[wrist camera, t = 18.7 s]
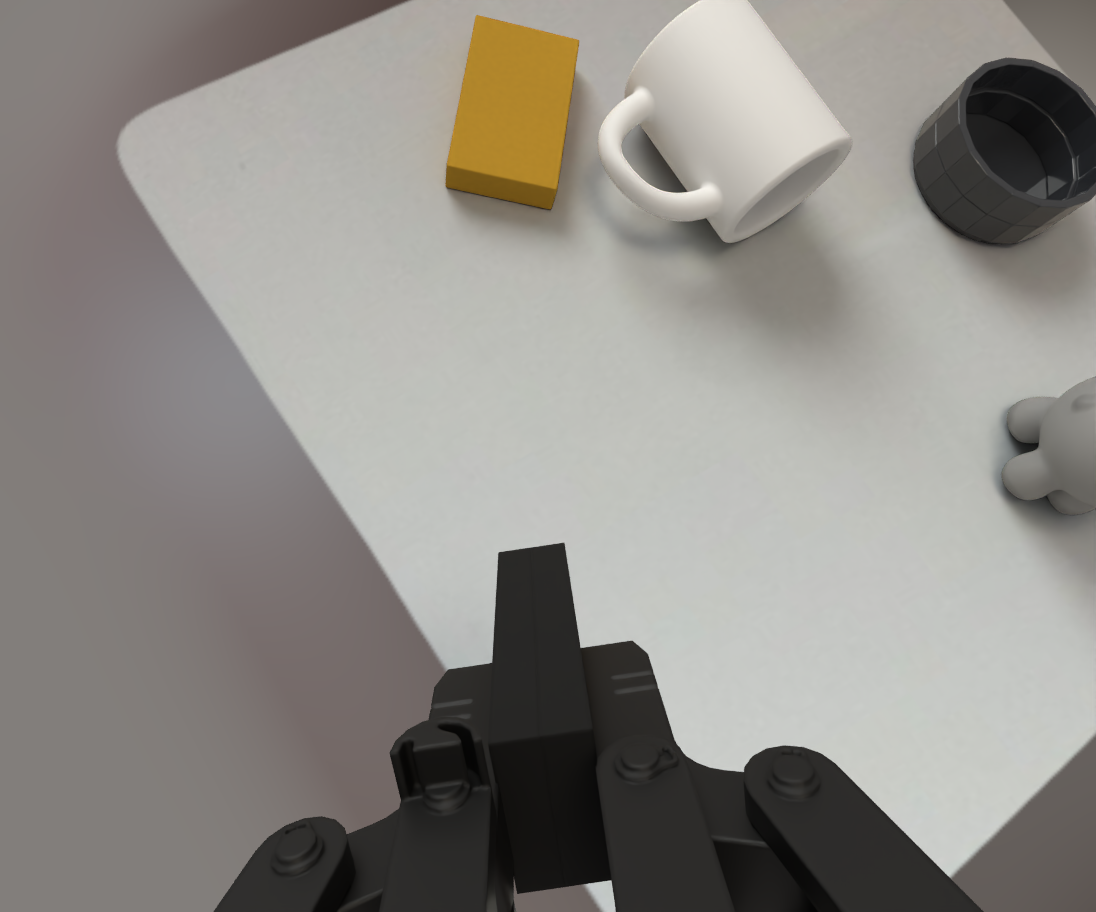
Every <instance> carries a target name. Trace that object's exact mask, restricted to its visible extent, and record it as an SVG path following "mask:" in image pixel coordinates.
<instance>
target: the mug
mask: <svg viewBox="0 0 1096 912" xmlns="http://www.w3.org/2000/svg"><path fill="white" fill-rule="evenodd" d="M639 124H640V125H641V127H642V128H643V130H644V131H645V133H646V134H647V135H648V137H649V138H650V140H651V141H652V142H653V144H654V145H655V147H656V148H657V149H658V151H659V152H660V154H661V155H662V156H663V158H664V159H665V161H666V162H667V163H668V165H669V166H670V168H671V169H672V171H673V172H674V173H675V175H676V176H677V178H678V179H679V180H680V182H681V183H682V185H683V186H684V187H685V189H686V190H687V192H684V193H672V192H666V191H662V190H659V189H657V188H655V187H653V186H651V185H649V184H648V183H647V182H645V181H644V180H643V179H642V178H641V177H640V176H639V175H638V174H637V173H636V172H635V171H634V170H633V169H632V167H631V166H630V165H629V164H628V162H627V161H626V159H625V157H624V156H623V153H622V148H621V146H622V141H623V139H624V137H625V136H626V135H627V134H628V132H630V131H631V130H632V129H633V128H634V127H636V126H637V125H639ZM851 147H852V139H851V137H850V136H849V135H848V133H847V132H846V131H845V129H844V128H843V127H842V125H841V124H840V123H839V121H838V120H837V119H836V117H835V116H834V115H833V113H832V112H831V111H830V109H829V108H828V107H827V105H826V104H825V103H824V101H823V100H822V99H821V97H820V96H819V95H818V93H817V92H816V91H815V89H814V88H813V87H812V85H811V84H810V83H809V81H808V80H807V79H806V77H805V76H804V75H803V73H802V72H801V71H800V69H799V68H798V67H797V65H796V64H795V63H794V61H793V60H792V59H791V57H790V56H789V55H788V53H787V52H786V51H785V49H784V48H783V47H782V45H781V44H780V43H779V41H778V40H777V39H776V37H775V36H774V35H773V33H772V32H771V31H770V29H769V28H768V27H767V25H766V24H765V23H764V21H763V20H762V19H761V17H760V16H759V15H758V13H757V12H756V11H755V9H754V8H753V7H752V5H751V4H750V3H749V1H748V0H700V1H698V2H697V3H695V4H693V5H692V6H690V7H689V8H687V9H686V10H685V11H683V12H682V13H681V14H679V15H678V16H677V17H676V18H675V19H673V20H672V21H671V22H670V23H669V24H668V25H667V26H666V27H665V28H664V29H663V30H662V31H661V32H660V33H659V34H658V35H657V36H656V37H655V38H654V39H653V40H652V42H651V43H650V44H649V45H648V46H647V48H646V49H645V50H644V52H643V53H642V54H641V56H640V57H639V59H638V60H637V62H636V64H635V65H634V67H633V69H632V71H631V73H630V75H629V78H628V80H627V83H626V87H625V99H624V100H623V101H621V102H620V103H619V104H618V105H617V106H616V107H614V108H613V110H612V111H611V112H610V113H609V114H608V115H607V117H606V118H605V120H604V122H603V124H602V126H601V128H600V131H599V136H598V151H599V155H600V159H601V162H602V164H603V166H604V168H605V170H606V172H607V174H608V176H609V177H610V179H611V180H612V181H613V183H614V184H615V185H616V186H617V188H618V189H619V190H620V191H621V192H622V193H623V194H624V195H625V196H626V197H627V198H628V199H629V200H630V201H632V202H633V203H634V204H636V205H637V206H638V207H640V208H641V209H643V210H645V211H646V212H648V213H650V214H652V215H655V216H657V217H660V218H663V219H667V220H672V221H695V220H700V219H704V218H707V220H708V221H709V223H710V224H711V225H712V227H713V228H714V230H715V231H716V232H717V234H718V235H719V237H720V238H721V239H722V240H723V241H724V242H726V243H734V242H738V241H741V240H743V239H746V238H748V237H750V236H752V235H754V234H756V233H757V232H759V231H761V230H763V229H764V228H766V227H767V226H769V225H771V224H772V223H774V222H775V221H777V220H778V219H780V218H781V217H782V216H784V215H785V214H787V213H788V212H789V211H791V210H792V209H793V208H795V207H796V206H797V205H798V204H800V203H801V202H802V201H803V200H805V199H806V198H807V197H808V196H809V195H811V194H812V193H813V192H814V191H815V190H816V189H817V188H818V187H820V186H821V185H822V184H823V183H824V182H825V181H826V180H827V179H828V178H829V177H830V176H831V175H832V174H833V173H834V172H835V171H836V170H837V168H838V167H839V166H840V165H841V164H842V162H843V161H844V160H845V158H846V157H847V155H848V154H849V152H850V150H851Z"/></svg>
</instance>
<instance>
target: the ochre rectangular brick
mask: <svg viewBox="0 0 1096 912" xmlns="http://www.w3.org/2000/svg"><path fill="white" fill-rule="evenodd" d="M578 47H579V40H577V39H573V38H569V37H564V36H560V35H556V34H552V33H548V32H544V31H540V30H536V29H532V28H528V27H524V26H520V25H516V24H512V23H507V22H503V21H499V20H495V19H491V18H487V17H483V16H479V15H476V18H475V23H474V28H473V33H472V38H471V44H470V49H469V54H468V59H467V64H466V69H465V74H464V79H463V84H462V90H461V95H460V100H459V105H458V110H457V115H456V120H455V125H454V130H453V136H452V141H451V146H450V151H449V156H448V161H447V169H446V187H447V188H452V189H457V190H461V191H466V192H471V193H475V194H480V195H485V196H489V197H494V198H499V199H503V200H508V201H512V202H517V203H522V204H526V205H531V206H536V207H540V208H545V209H551V208H552V205H553V202H554V199H555V195H556V192H557V188H558V182H559V175H560V168H561V161H562V155H563V148H564V141H565V134H566V128H567V121H568V114H569V107H570V101H571V94H572V87H573V80H574V74H575V67H576V60H577V54H578Z"/></svg>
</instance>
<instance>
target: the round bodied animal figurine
mask: <svg viewBox="0 0 1096 912" xmlns="http://www.w3.org/2000/svg"><path fill="white" fill-rule="evenodd" d="M1007 424H1008V428H1009V430H1010V432H1011V434H1012V435H1013V436H1014V437H1015V438H1016V439H1017V440H1018V441H1020V442H1023V443H1038V442H1039V447H1038V449H1036V450H1034V451H1032V452H1028V453H1024V454H1021V455H1018V456H1016V457H1014V458H1012V459H1011V460H1009V461H1008V462H1007V463H1006V465H1005V466H1004V468H1003V470H1002V480H1003V483H1004V485H1005V486H1006V488H1007V489H1008V490H1009V491H1010V492H1011V493H1012V494H1013V495H1014V496H1016V497H1017V498H1019V499H1022V500H1035V499H1038V498H1042V497H1044V496H1046V495H1047V497H1048V499H1049V501H1050V503H1051V504H1052V505H1053V507H1054V508H1055V509H1056V510H1058V511H1059V512H1061V513H1063V514H1068V515H1077V514H1083V513H1086V512H1089V511H1092V510H1094V509H1096V377H1093V378H1090V379H1087V380H1085V381H1083V382H1081V383H1079V384H1077V385H1075V386H1074V387H1072V388H1071V389H1069V390H1068V391H1066V392H1065V393H1064V394H1063V395H1062V396H1060V397H1059V398H1054V397H1033V398H1028V399H1024V400H1021V401H1019V402H1017V403H1016V404H1014V405H1013V406H1012V407H1011V408H1010V409H1009V411H1008V414H1007Z"/></svg>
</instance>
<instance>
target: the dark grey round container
mask: <svg viewBox="0 0 1096 912" xmlns="http://www.w3.org/2000/svg"><path fill="white" fill-rule="evenodd" d="M913 163H914V172H915V177H916V180H917V183H918V186H919V189H920V191H921V193H922V195H923V197H924V198H925V200H926V202H927V203H928V205H929V206H930V207H931V209H932V210H933V211H934V212H935V213H936V214H937V215H938V216H939V218H940V219H942V220H943V221H944V222H945V223H946V224H947V225H949V226H950V227H951V228H953V229H954V230H956V231H957V232H959V233H961V234H963V235H965V236H967V237H969V238H972V239H974V240H977V241H981V242H985V243H991V244H1004V243H1011V244H1014V243H1018V242H1021V241H1023V240H1026V239H1029V238H1032V237H1035V236H1037V235H1038V234H1040V233H1041V232H1043V231H1044V230H1046V229H1047V228H1049V227H1050V226H1052V225H1053V224H1055V223H1056V222H1058V221H1059V220H1061V219H1062V218H1064V217H1066V216H1067V215H1069V214H1070V213H1072V212H1073V211H1075V210H1076V209H1078V208H1079V207H1081V206H1082V205H1084V204H1085V203H1087V202H1088V201H1090V200H1091V199H1092V198H1093V197H1094V196H1095V195H1096V106H1095V105H1094V103H1093V102H1092V101H1091V100H1090V98H1089V97H1088V96H1087V95H1086V93H1085V92H1084V91H1083V90H1082V88H1080V87H1079V86H1078V85H1076V84H1075V83H1074V82H1073V81H1071V80H1070V79H1069V78H1067V77H1066V76H1065V75H1063V74H1062V73H1061V72H1060V71H1058V70H1055V69H1053V68H1050V67H1048V66H1046V65H1043V64H1041V63H1038V62H1036V61H1033V60H1026V59H1017V58H1003V59H999V60H996V61H992V62H988V63H985V64H983V65H982V66H981V67H979V68H978V69H977V70H976V71H975V72H974V73H972V74H971V75H970V76H969V77H968V78H967V79H966V80H965V81H964V82H963V83H962V84H961V85H960V86H959V87H958V88H957V89H956V90H955V91H954V92H953V93H952V94H951V95H950V96H949V97H948V98H947V99H946V101H944V102H943V103H942V105H941V106H940V107H939V108H938V109H937V110H936V111H935V112H934V113H933V114H932V115H931V116H930V117H929V118H928V119H927V120H926V121H925V122H924V124H923V126H922V129H921V131H920V133H919V135H918V138H917V140H916V143H915V150H914V158H913Z"/></svg>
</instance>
